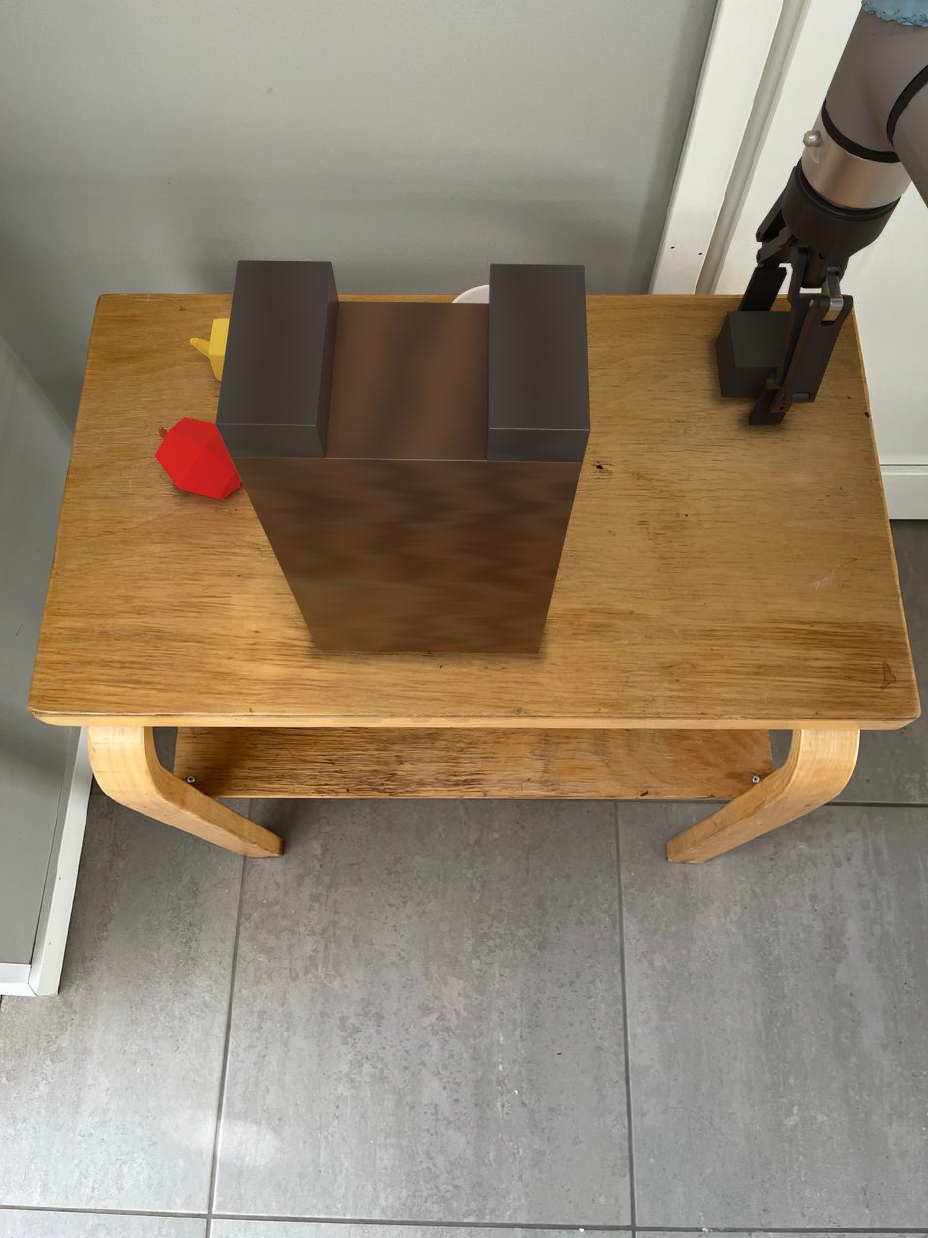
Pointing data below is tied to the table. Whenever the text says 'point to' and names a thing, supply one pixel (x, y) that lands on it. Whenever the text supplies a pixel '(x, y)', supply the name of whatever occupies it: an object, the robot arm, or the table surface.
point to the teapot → (214, 345)
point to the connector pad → (749, 350)
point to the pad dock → (410, 451)
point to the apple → (197, 459)
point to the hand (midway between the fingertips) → (756, 368)
